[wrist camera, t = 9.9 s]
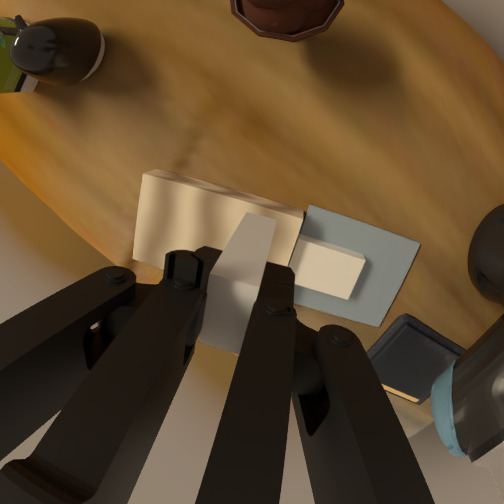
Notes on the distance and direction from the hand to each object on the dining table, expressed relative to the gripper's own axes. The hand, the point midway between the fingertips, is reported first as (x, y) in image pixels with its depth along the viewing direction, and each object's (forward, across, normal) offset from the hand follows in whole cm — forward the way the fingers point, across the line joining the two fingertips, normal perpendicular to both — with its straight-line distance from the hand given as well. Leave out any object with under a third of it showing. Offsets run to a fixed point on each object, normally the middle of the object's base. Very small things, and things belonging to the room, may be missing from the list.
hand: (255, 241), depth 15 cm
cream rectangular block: (+24, +8, -10) cm, 27 cm away
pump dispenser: (+25, -32, +12) cm, 42 cm away
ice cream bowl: (+25, -3, +19) cm, 31 cm away
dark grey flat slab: (+25, +30, -24) cm, 46 cm away
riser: (+24, -6, -10) cm, 27 cm away
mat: (+24, +12, -10) cm, 29 cm away
